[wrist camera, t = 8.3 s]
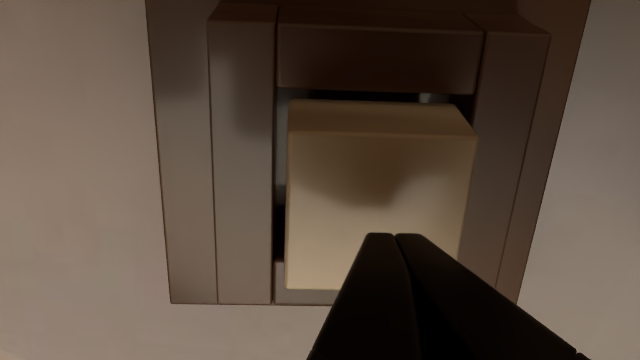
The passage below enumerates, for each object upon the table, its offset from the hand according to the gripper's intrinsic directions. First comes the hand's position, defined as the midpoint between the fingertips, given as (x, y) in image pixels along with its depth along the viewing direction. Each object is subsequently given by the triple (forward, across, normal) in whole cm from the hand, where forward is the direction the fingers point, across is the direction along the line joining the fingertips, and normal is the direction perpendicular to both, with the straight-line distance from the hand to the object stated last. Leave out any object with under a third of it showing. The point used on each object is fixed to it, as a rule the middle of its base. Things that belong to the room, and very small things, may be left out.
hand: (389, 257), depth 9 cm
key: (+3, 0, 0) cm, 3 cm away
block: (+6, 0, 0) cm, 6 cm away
